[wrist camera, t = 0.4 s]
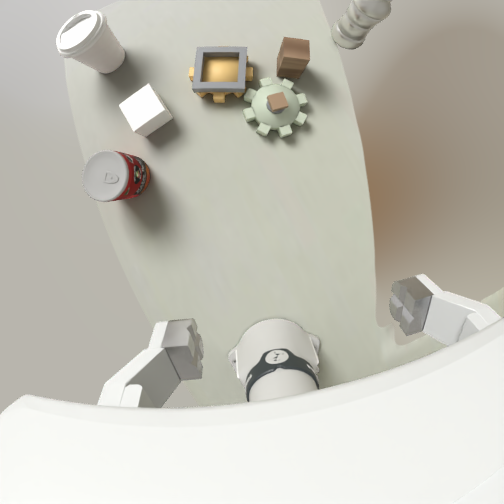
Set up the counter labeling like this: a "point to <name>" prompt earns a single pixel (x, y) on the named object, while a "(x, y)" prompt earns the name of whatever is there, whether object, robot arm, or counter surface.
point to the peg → (293, 57)
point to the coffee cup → (90, 42)
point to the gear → (274, 107)
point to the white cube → (145, 111)
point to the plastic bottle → (359, 21)
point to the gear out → (220, 72)
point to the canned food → (114, 176)
